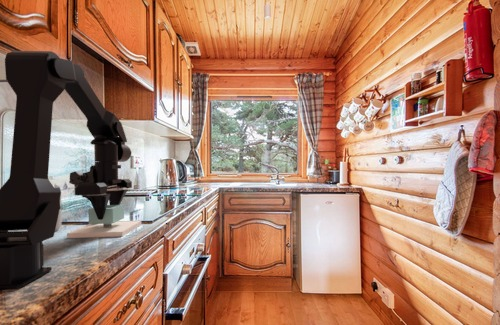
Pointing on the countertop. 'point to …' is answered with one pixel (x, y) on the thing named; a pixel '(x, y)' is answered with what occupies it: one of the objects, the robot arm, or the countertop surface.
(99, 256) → the countertop surface
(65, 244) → the countertop surface
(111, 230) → the base plate
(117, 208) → the block with square hole
